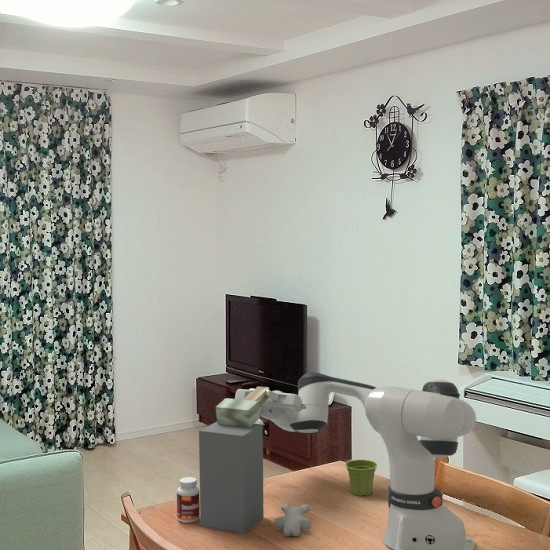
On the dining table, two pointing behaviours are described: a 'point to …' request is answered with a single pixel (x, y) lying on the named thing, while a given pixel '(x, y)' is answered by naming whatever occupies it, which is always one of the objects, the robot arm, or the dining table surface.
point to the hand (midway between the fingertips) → (258, 391)
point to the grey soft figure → (293, 520)
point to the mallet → (241, 409)
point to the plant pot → (361, 476)
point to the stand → (231, 477)
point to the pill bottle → (188, 500)
